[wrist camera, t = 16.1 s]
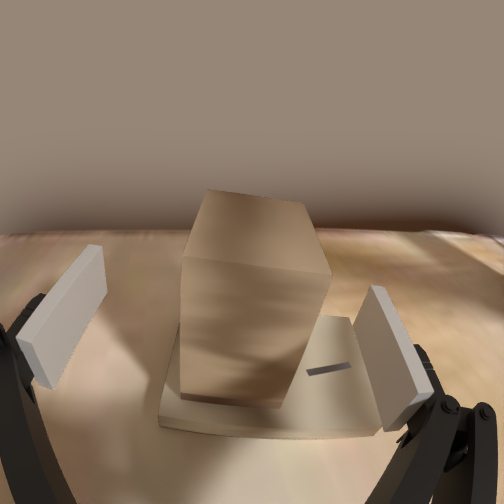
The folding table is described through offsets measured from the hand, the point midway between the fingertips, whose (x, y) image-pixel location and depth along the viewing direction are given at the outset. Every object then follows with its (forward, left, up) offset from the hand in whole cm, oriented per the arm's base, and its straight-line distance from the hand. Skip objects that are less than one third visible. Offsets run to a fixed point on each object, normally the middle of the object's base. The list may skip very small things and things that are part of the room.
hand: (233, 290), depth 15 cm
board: (-4, -3, -9) cm, 10 cm away
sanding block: (-1, -3, -7) cm, 8 cm away
